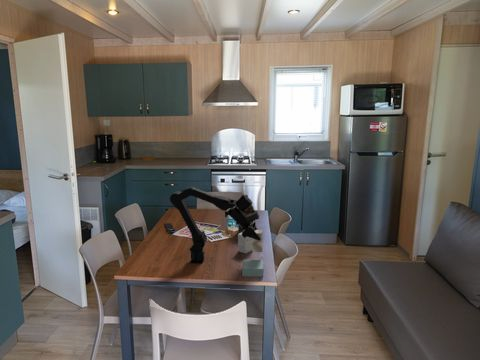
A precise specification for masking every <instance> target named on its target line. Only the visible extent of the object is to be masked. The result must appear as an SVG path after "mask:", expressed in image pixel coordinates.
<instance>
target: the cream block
mask: <svg viewBox="0 0 480 360" xmlns="http://www.w3.org/2000/svg"><path fill="white" fill-rule="evenodd" d="M255 232H256V233H257V235H258V236H259V237H260V239H261V240H260V241H259V240H256V239H253V238H252V242H253V250H252V253H263V249H264V248H263V246H264V245H263V244H264V241H263V240H264V239H263V238H264V234H263V233H264V230H263V229H258V230H255Z"/></svg>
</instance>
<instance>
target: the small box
mask: <svg viewBox="0 0 480 360" xmlns="http://www.w3.org/2000/svg"><path fill="white" fill-rule="evenodd" d="M237 245H238V246H237V251H238V252H239V253H242V254H248V253H250V252H251V251H252V252H253V242H252V238H250V237H246V238H244V237H243V236H242V232H241V233H239V232H238V234H237Z"/></svg>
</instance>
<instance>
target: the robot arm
mask: <svg viewBox="0 0 480 360" xmlns="http://www.w3.org/2000/svg"><path fill="white" fill-rule="evenodd" d="M245 195H246V194H243V193H242V194H241V196H240V197H239V198H238V199H231V198H230V197H228V196H223V195H216V194H212V193H210V192H207V191H204V190H201V189H199V188H196V187H194V186H190V187H188V188H186V189H183V190H181V191H180V190H176V191H175V192H173V193H172V194H171V195H170V197H169V201H170V203H171V204H172V206H173V207H174V208H175V209H177V210H178V212H179V213H180V215H181V217H182V219H183V221H184V223H185V225H186V226H187V229H188V230H189V232H190V235H191V240H192V245H191V246H190V247H189V252H190V261H189V262H190V264H191V263H192V264H202V263H203V262H204V261H205V255H206V253H205V251H204V247H205V246H206V244H207V242H208V236H207V234H206V233H205V230H200V228H199V226H198V225H197V223H196V221H195V219H194V217H193V216H192V213H191V212H190V210H189V208H188V206H187V203H186V202H187V201H186V199H187V198H189V197H194V198H196V199H199V200H201V201H205V202H207V203H209V204H212V205H214V206H215V207H216V208H218V209H219V210H221V211H224V218H227V217H228V216H229V217H230V218H231V219H232V220H233V221H234V222H235V224H236V226H238V225H239V226H241V227H242V230H243V231H242V236H243V237H244V238H246V237H250V238H253V239H256V240H259V241H260V240H261V239H260V237H259V236H258V235H257V233H256V232H255V230H259V229H258V228H257V226H256V225H257V222H256V220H259V219H260V215H259V212H258V211H257V210H255V209H253V210H251V213H249V214H248V215H247V214H245V213H244V214H243V213H242V212H241V211H246V210H247V209H248V208H249V207H250V206H251V205H252V206H253V201H252V199H251V198H249V196H248V197H246V196H245ZM240 210H241V211H240Z"/></svg>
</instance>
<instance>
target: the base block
mask: <svg viewBox="0 0 480 360" xmlns="http://www.w3.org/2000/svg"><path fill="white" fill-rule="evenodd" d="M242 261H243V262H242V266H241V275H242V277H255V278H256V277H259V278H260V277H261V278H262V277H264V260H263V259H243V260H242Z"/></svg>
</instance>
